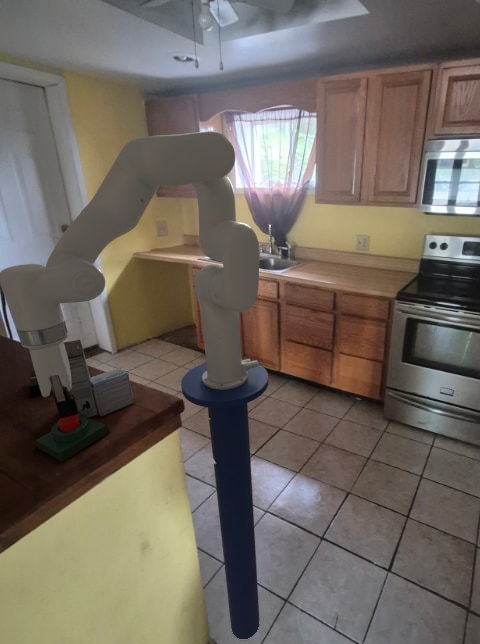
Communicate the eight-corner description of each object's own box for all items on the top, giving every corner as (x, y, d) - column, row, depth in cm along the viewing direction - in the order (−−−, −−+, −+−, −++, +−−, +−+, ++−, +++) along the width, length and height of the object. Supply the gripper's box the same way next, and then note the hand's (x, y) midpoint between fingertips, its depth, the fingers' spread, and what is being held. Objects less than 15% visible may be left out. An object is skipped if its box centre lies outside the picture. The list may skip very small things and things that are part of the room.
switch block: (84, 422, 84) (80, 407, 82) (107, 433, 80) (104, 418, 79) (38, 448, 76) (33, 432, 74) (62, 462, 72) (57, 445, 71)
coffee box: (65, 404, 90) (48, 344, 84) (95, 396, 93) (80, 338, 87) (67, 423, 83) (48, 359, 77) (99, 414, 86) (84, 352, 80)
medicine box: (126, 396, 94) (120, 366, 90) (134, 403, 91) (128, 372, 88) (94, 409, 88) (86, 378, 85) (101, 417, 86) (93, 385, 82)
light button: (73, 419, 79) (71, 412, 78) (83, 424, 77) (81, 417, 77) (56, 428, 76) (53, 421, 75) (66, 434, 74) (64, 427, 74)
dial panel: (71, 373, 105) (69, 363, 103) (73, 387, 98) (70, 377, 96) (33, 381, 100) (30, 371, 99) (32, 397, 93) (28, 386, 92)
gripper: (22, 323, 72) (48, 402, 80) (15, 353, 61) (47, 441, 68) (66, 316, 76) (87, 392, 83) (68, 342, 64) (92, 428, 72)
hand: (69, 414), depth 76 cm, fingers closed
